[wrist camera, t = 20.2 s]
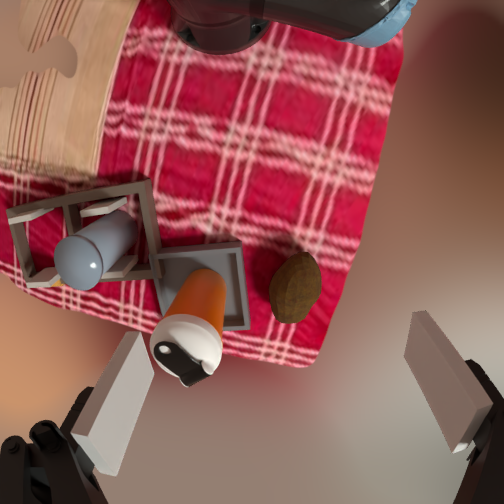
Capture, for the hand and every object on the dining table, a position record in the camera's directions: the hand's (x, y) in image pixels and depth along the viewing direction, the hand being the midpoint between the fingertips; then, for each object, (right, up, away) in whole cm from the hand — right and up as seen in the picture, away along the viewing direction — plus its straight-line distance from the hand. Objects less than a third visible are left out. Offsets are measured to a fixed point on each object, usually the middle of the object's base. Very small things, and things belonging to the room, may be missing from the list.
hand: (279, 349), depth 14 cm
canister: (-23, +8, +36) cm, 44 cm away
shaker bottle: (-9, -1, +39) cm, 40 cm away
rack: (-31, +7, +37) cm, 49 cm away
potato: (+5, 0, +39) cm, 39 cm away
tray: (-9, -1, +39) cm, 40 cm away
